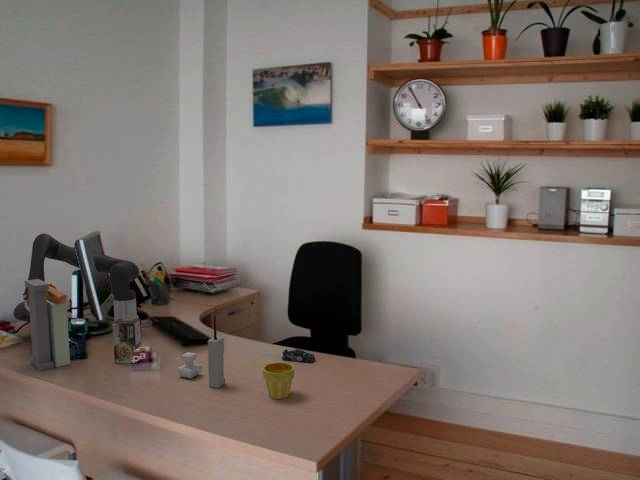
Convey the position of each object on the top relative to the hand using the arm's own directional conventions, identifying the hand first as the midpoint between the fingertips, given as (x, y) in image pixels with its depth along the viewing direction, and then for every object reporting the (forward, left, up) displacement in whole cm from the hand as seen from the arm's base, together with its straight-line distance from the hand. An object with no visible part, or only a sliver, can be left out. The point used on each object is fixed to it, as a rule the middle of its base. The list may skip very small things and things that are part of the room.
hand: (46, 286), depth 240 cm
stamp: (-31, +56, -28) cm, 70 cm away
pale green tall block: (0, +9, -28) cm, 29 cm away
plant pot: (-45, +91, -28) cm, 105 cm away
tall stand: (+6, +9, -28) cm, 30 cm away
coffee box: (-21, +26, -28) cm, 44 cm away
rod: (0, +7, -3) cm, 8 cm away
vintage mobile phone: (-34, +70, -28) cm, 83 cm away
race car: (-72, +68, -29) cm, 103 cm away
